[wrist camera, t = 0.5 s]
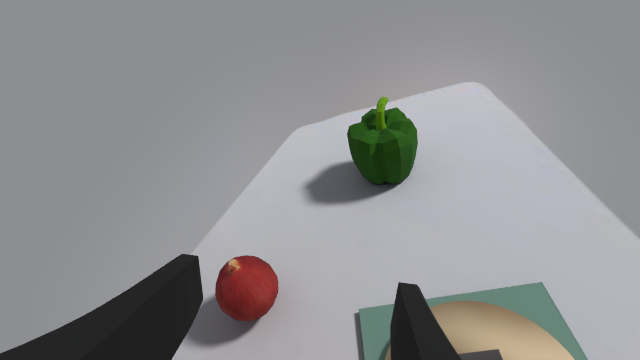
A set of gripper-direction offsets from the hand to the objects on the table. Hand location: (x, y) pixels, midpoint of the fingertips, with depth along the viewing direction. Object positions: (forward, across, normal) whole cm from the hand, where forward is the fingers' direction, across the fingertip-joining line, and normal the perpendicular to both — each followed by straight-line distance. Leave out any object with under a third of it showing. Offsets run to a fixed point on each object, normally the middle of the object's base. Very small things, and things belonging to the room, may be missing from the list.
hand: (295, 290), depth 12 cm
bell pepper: (+34, -6, +10) cm, 36 cm away
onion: (+16, +6, +18) cm, 25 cm away
